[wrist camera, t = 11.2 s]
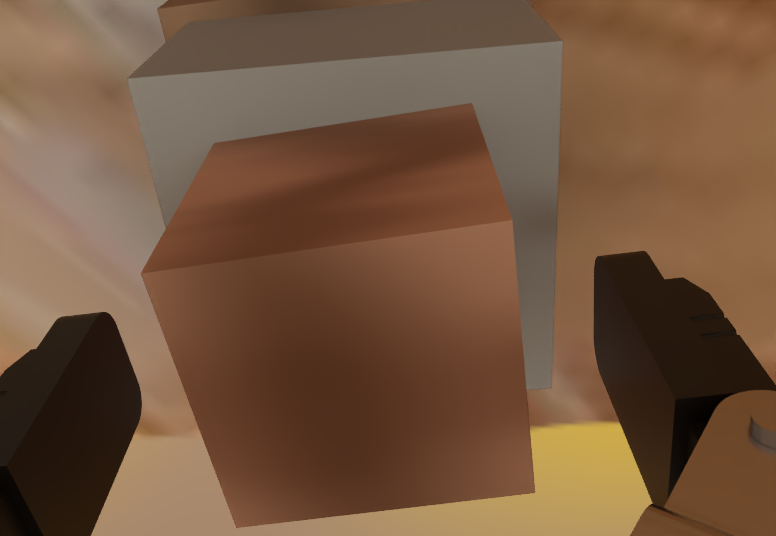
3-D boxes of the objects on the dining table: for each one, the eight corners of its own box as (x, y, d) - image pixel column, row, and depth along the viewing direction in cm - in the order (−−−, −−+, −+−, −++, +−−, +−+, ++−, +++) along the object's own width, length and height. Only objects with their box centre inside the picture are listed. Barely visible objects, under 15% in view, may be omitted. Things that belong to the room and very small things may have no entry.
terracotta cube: (471, 102, 14) (512, 220, 10) (494, 321, 16) (535, 492, 12) (213, 143, 14) (141, 273, 10) (273, 350, 17) (236, 527, 12)
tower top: (518, -8, 18) (562, 40, 13) (517, 279, 22) (551, 388, 17) (188, 21, 18) (127, 78, 14) (247, 299, 22) (214, 411, 18)
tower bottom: (502, -66, 22) (532, -42, 17) (515, 210, 26) (541, 284, 22) (201, -24, 22) (157, 8, 18) (264, 240, 27) (241, 317, 22)
